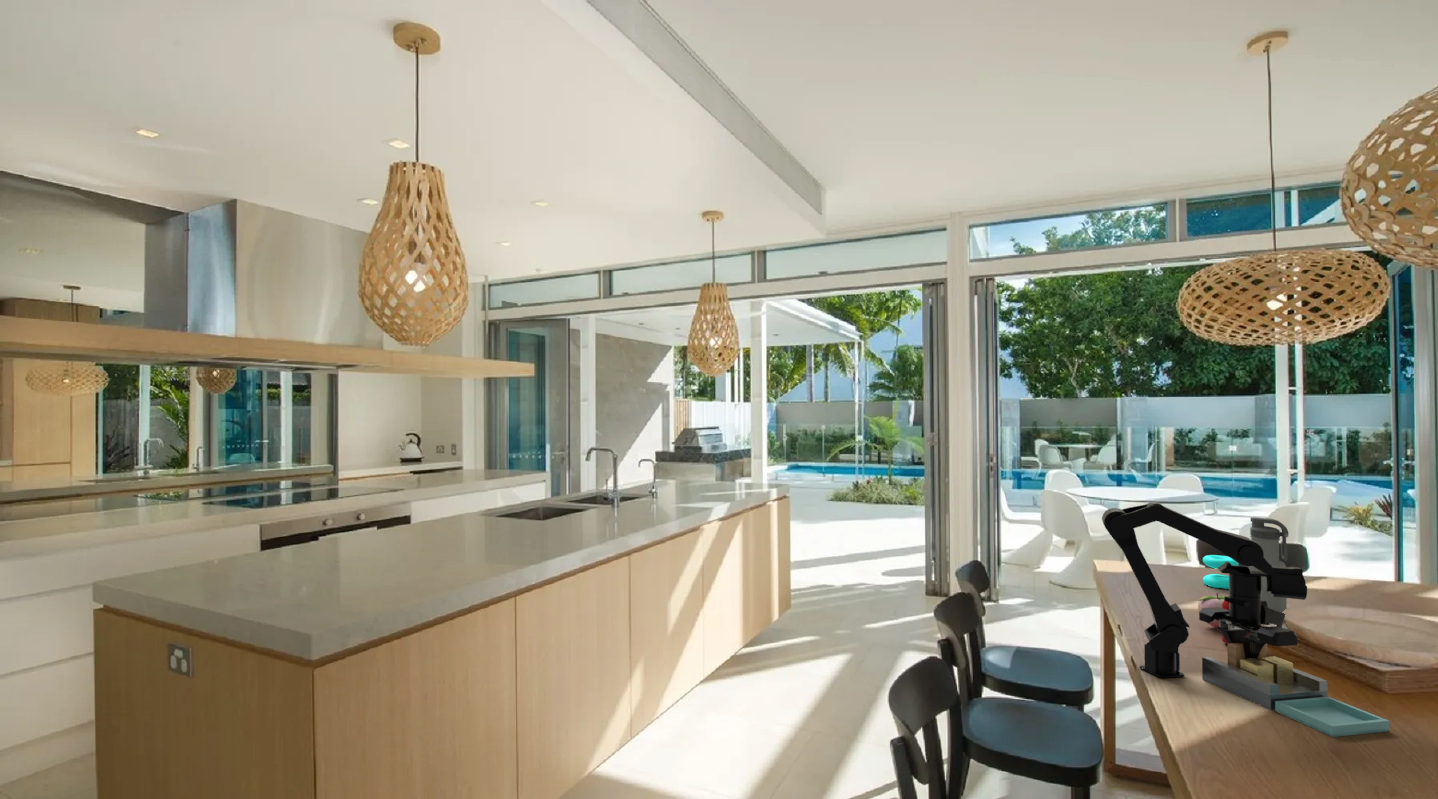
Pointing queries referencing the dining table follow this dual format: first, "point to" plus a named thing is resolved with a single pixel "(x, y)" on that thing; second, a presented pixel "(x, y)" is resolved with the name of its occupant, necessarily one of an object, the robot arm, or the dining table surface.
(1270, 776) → the dining table surface
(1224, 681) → the slot block
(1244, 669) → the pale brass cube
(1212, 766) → the dining table surface
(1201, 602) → the decorative fruit
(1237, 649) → the wooden block
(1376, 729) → the tray
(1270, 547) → the water bottle
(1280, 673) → the yellow cube
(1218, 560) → the donuts
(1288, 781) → the dining table surface
